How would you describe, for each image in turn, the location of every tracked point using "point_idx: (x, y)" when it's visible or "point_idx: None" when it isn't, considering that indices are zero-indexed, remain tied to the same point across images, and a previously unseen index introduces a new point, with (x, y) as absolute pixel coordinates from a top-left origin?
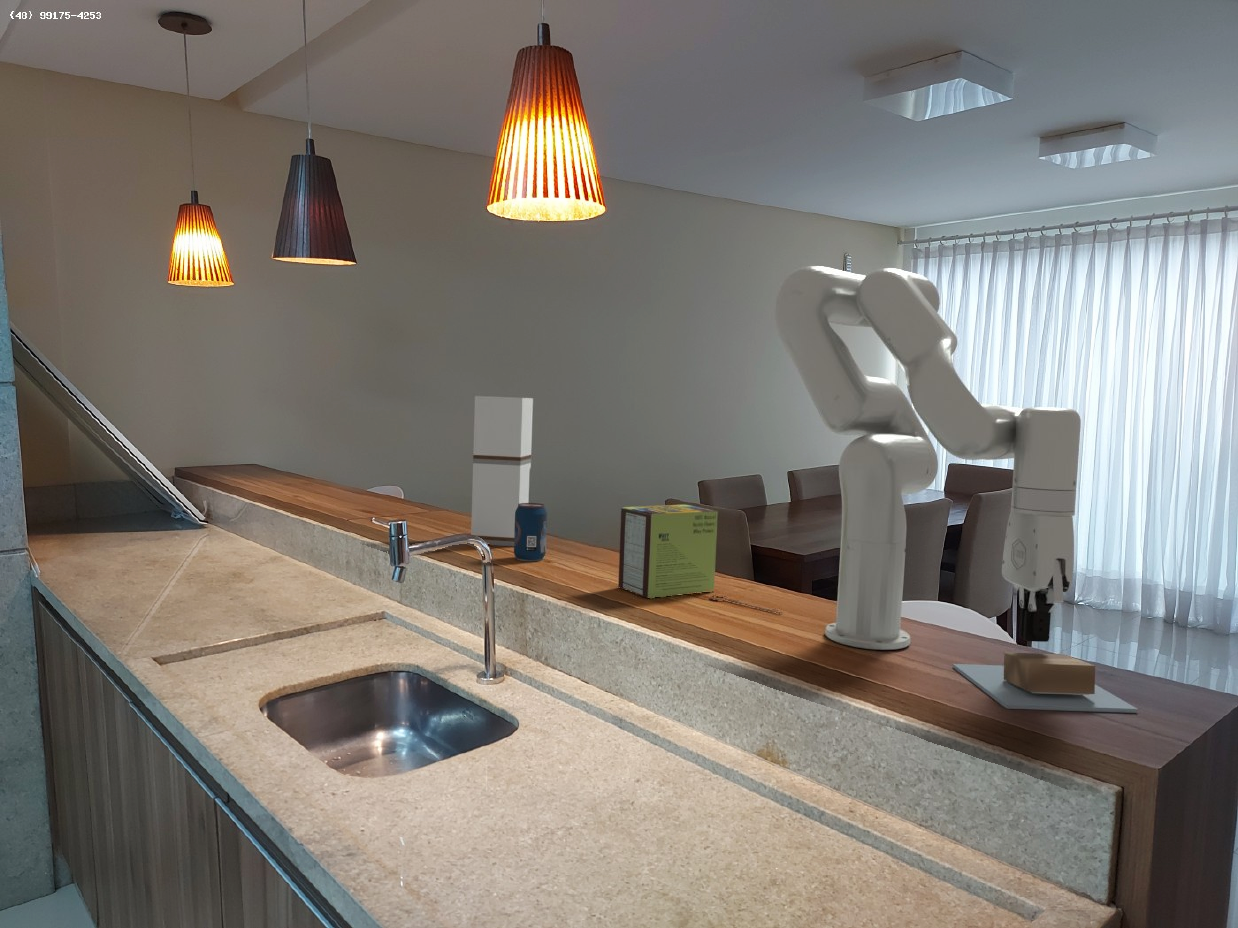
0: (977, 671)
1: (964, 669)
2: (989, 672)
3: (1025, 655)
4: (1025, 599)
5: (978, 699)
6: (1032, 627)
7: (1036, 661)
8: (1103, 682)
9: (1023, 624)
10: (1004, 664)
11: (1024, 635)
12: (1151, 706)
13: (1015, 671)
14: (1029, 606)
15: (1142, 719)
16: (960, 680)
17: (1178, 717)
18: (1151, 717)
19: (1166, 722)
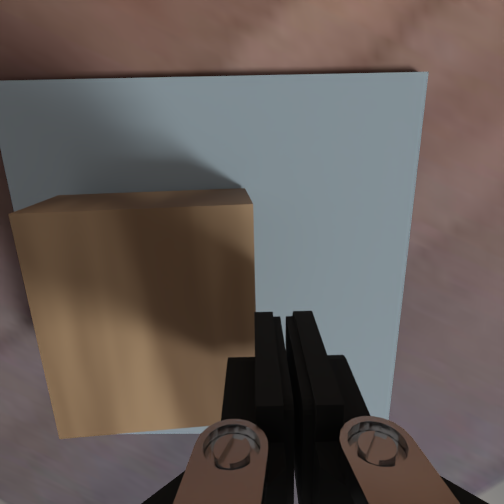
0: (336, 134)
1: (358, 91)
2: (328, 175)
3: (200, 268)
4: (355, 488)
5: (65, 19)
6: (248, 372)
7: (68, 257)
8: None
9: (292, 348)
10: (245, 196)
11: (261, 318)
12: (127, 477)
13: (157, 198)
14: (263, 450)
15: (23, 415)
16: (269, 40)
17: (63, 491)
18: (45, 440)
19: (19, 452)
